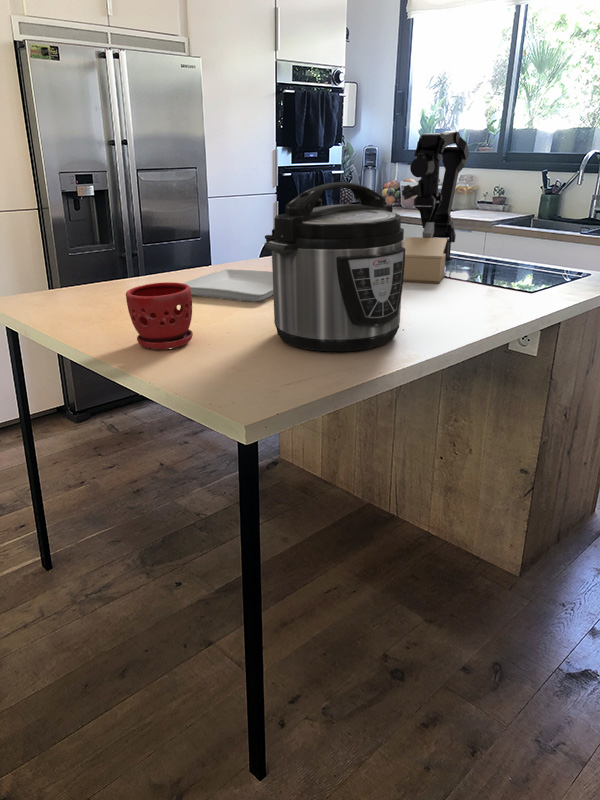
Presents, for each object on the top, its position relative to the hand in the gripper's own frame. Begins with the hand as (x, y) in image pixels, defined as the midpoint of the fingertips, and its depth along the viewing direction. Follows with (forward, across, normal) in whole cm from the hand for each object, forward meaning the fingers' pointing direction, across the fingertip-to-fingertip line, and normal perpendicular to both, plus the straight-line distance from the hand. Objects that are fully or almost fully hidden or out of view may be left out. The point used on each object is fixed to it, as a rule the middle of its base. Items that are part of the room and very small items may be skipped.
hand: (426, 226), depth 209 cm
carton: (+13, +22, +3) cm, 26 cm away
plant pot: (+13, +104, -38) cm, 111 cm away
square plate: (+14, +52, -43) cm, 69 cm away
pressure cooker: (+13, +88, -4) cm, 89 cm away
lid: (+3, +18, +3) cm, 19 cm away
